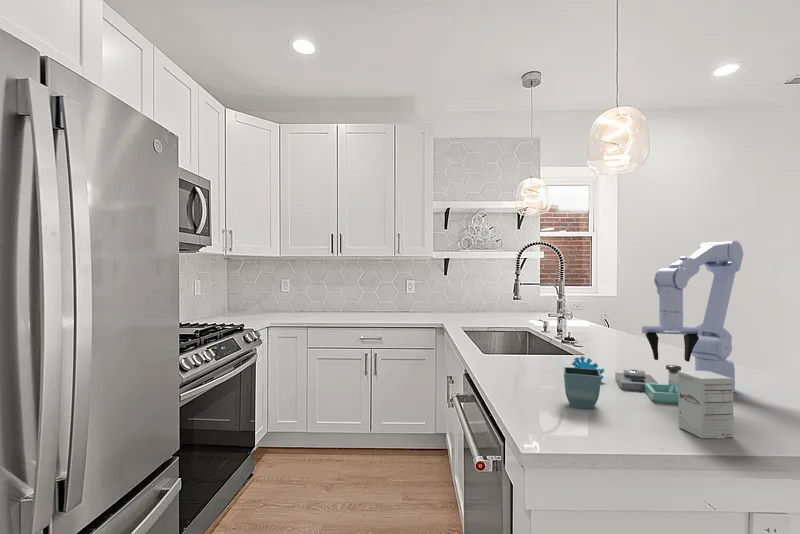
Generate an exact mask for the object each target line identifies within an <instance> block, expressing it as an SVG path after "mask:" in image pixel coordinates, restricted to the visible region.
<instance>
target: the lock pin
mask: <svg viewBox="0 0 800 534" xmlns="http://www.w3.org/2000/svg"><path fill="white" fill-rule="evenodd" d="M665 370H668V373H667V374H668V385H669V393H679V371H682V366H680V365H674V364H667V365H665Z"/></svg>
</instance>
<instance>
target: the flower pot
mask: <svg viewBox="0 0 800 534" xmlns="http://www.w3.org/2000/svg"><path fill="white" fill-rule="evenodd" d="M598 369H599V368H596V369H585V368H574V367H569V366H565V367H563V378H564V379H563V381H564V390H565V391H564V392H565V396H566V399H567V400H568V401H567V402H568V403H569V406H570V407H571V408H577V409H578V408H579V409H588V410H592V409H594V407H595V406H596V404H597V402H598V400H599V397H600V392H601V383H602V380H601V375H602V374H600V371H599V370H598Z"/></svg>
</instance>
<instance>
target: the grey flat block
mask: <svg viewBox="0 0 800 534" xmlns="http://www.w3.org/2000/svg"><path fill="white" fill-rule="evenodd" d="M614 374H615V376H614V378H615V381H616V383H617V384H618V386H619V387H620V390H621V389H623V390H622V391H634V390H636V391H637V392H645V383H653V384H659V382H658V381H657V380H656V379H654V377H653V376H652V375H651V374H646V371H644V370H641V369H636V368H635V369H633V368H627V369H626V368H625V369H624V370H623V372H615V373H614ZM636 391H635V392H636Z"/></svg>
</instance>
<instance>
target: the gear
mask: <svg viewBox="0 0 800 534" xmlns="http://www.w3.org/2000/svg"><path fill="white" fill-rule="evenodd" d="M585 359H586V357H585V356H582V355H581V356H580V357H575V358H574V360H573V362H572V363H571V365H572V366H573V368H585V369H598V370H599V371H600V374H601V381H602V380H603V379H604V376H603V375H602V374H603V373H604V372H605V368H601V369H600V368H598V367H599V365H598V363H597V362H595V363H592V362H593V361H592V358H587V359H586V361H585ZM591 363H592V364H591Z"/></svg>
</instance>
